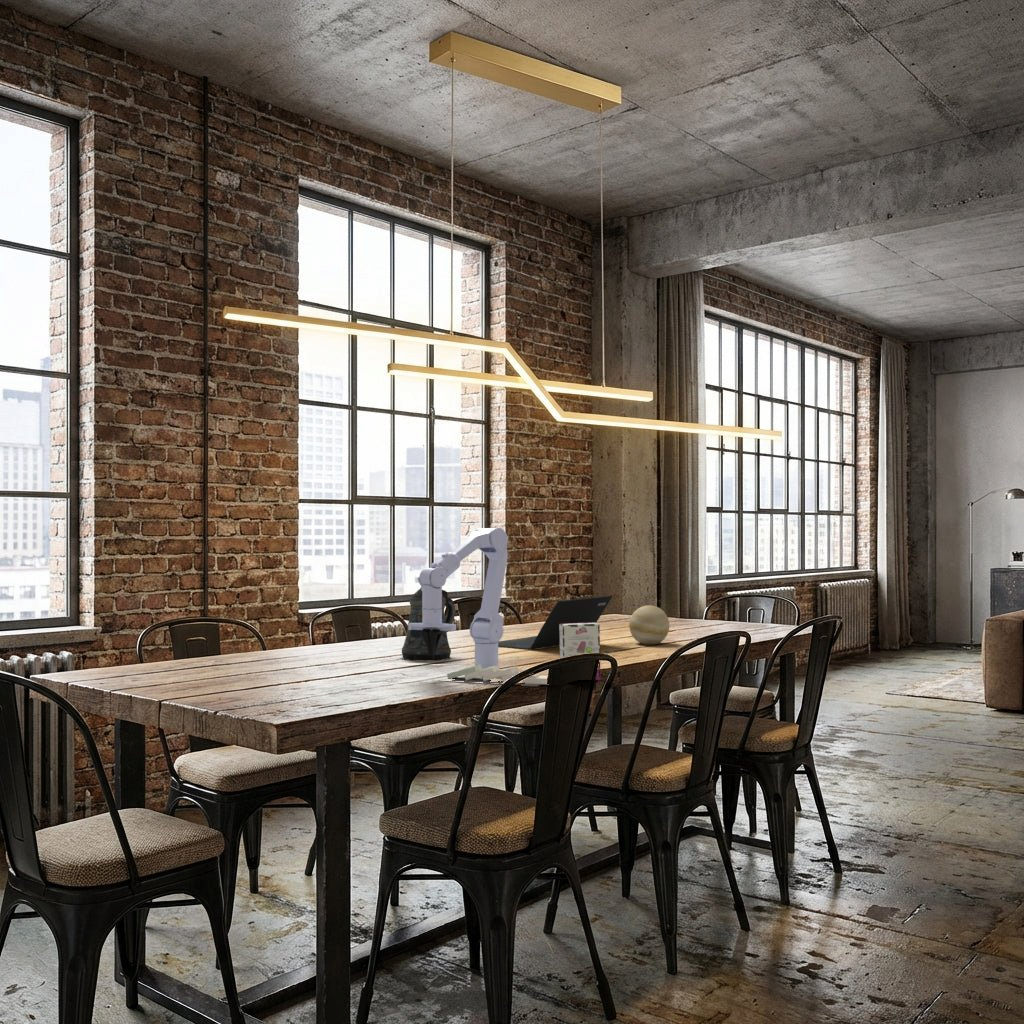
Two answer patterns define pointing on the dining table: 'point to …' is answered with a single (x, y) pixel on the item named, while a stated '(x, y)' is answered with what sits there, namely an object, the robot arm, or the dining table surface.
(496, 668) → the domino
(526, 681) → the domino
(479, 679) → the mat
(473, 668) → the sage domino
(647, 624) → the decorative ball
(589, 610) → the laptop
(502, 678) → the domino
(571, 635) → the candy bar box
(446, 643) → the beer stein
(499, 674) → the domino
